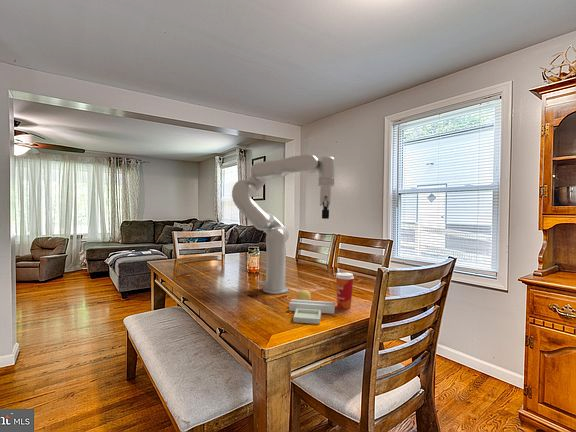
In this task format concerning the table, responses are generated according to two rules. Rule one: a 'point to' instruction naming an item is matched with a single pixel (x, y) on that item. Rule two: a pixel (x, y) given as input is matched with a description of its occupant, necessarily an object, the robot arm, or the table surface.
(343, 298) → the paper cup
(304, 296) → the ball
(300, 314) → the dish
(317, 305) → the rails
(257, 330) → the table surface
